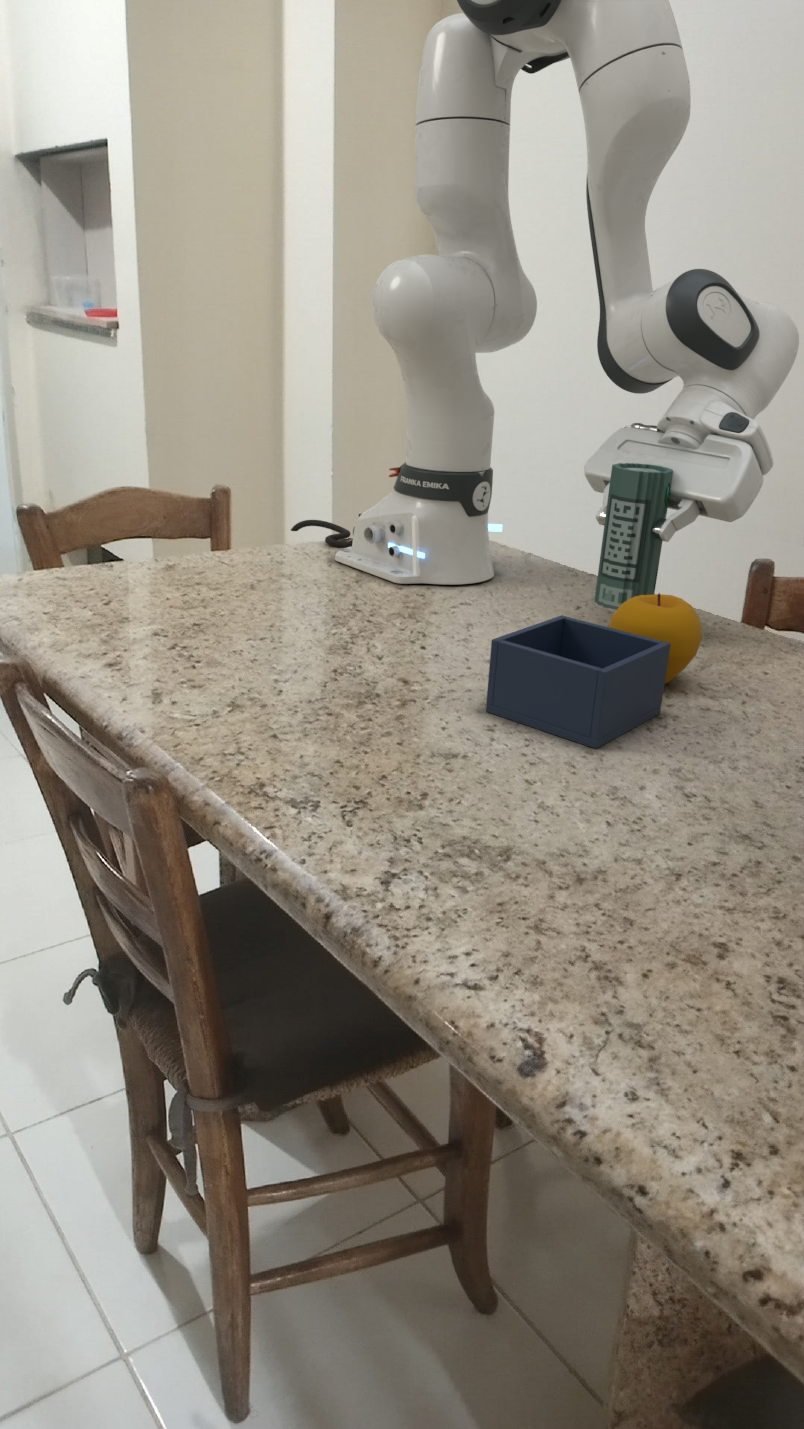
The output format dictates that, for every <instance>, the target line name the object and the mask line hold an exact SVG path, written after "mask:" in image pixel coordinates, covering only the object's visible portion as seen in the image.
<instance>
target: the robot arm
mask: <svg viewBox="0 0 804 1429" xmlns="http://www.w3.org/2000/svg"><path fill="white" fill-rule="evenodd" d="M456 1H457V4H458V6H459V8H460V9H461V12H460V13H454V14H451V15H448V16H445V17H443V19H441V20H439V21H438V22H436V23H435V24H434V25H433V26H432V27H431V28H430V30H429V32H428V34H427V35H426V38H425V41H424V45H423V51H422V56H421V61H420V68H419V73H418V74H419V75H418V83H417V93H416V105H415V131H414V132H415V134H414V136H415V137H414V138H415V140H414V141H415V142H414V150H415V151H414V198H415V201H416V205H417V207H418V209H419V211H420V212H421V213H422V215H423V216H424V218H425V220H427V223H428V224H429V226H430V228H431V231H432V235H433V239H434V241H435V245H436V250H437V254H431V253H424V254H418V255H414V256H409V257H405V258H402V259H399V260H395V261H393V262H392V263H390V264H388V265H387V266H386V267H385V268H384V270H383V271H381V273H380V275H379V277H378V278H377V280H376V283H375V285H374V288H373V293H372V302H371V307H372V308H371V310H372V315H373V320H374V324H375V326H376V328H377V330H378V332H379V333H380V335H381V336H382V337H383V339H384V340H385V341H386V342H387V343H388V344H389V346H390V347H391V350H392V351H393V353H394V355H395V357H396V361H397V363H398V366H399V370H400V373H401V377H402V382H403V386H404V391H405V400H406V444H405V446H406V447H405V448H406V449H405V462H404V463H402V464H401V465H400V466H397V467H392V468H391V467H390V468H388V471H394V472H392V473H389V474H388V475H387V476H388V478H396V477H397V478H396V479H395V483H394V485H393V490H392V491H391V492H390V493H388V494H387V495H386V496H384V497H383V498H382V499H380V500H379V501H378V502H376V503H375V504H373V505H372V506H371V507H369V508H368V509H367V510H365V511H364V512H362V513H358V518H357V519H356V522H355V525H354V527H353V529H352V539H350V540H349V541H341V540H346V539H348V538H349V537H351V531H350V530H349V529H347V528H345V527H343V526H340V525H338V524H336V523H332V522H329V521H325V520H321V519H305V520H301V521H299V522H297V523H296V524H294V525H293V526H292V527H291V529H290V531H291V532H298V531H299V530H301V529H303V528H306V527H318V528H319V527H320V528H325V529H328V530H332V531H334V532H337V533H333V534H329V535H327V536H325V539H324V541H325V543H326V544H327V545H329V546H332V547H334V548H342V549H339V550H337V551H336V553H335V555H334V561H336V562H338V563H341V564H343V565H345V566H349V567H352V568H354V569H357V570H360V571H362V572H365V573H368V574H370V575H373V576H376V577H379V578H381V579H384V580H386V581H389V582H391V583H395V584H403V585H408V584H409V585H412V584H415V585H416V584H429V585H448V586H449V585H450V586H451V585H468V584H469V585H470V584H476V583H477V584H478V583H481V582H486V581H488V580H491V579H492V578H493V577H494V576H495V572H494V567H493V561H492V556H491V547H490V534H489V532H496V533H497V532H501V533H502V532H503V524H500V523H499V524H498V523H489V510H490V507H491V506H490V505H491V502H492V501H491V500H492V495H493V484H494V483H493V481H494V469H493V468H492V467H491V462H492V451H493V450H492V448H493V436H494V423H495V407H494V404H493V401H492V399H491V398H490V397H489V395H488V394H487V393H486V392H485V390H484V388H483V386H482V383H481V379H480V376H479V370H478V364H477V358H476V357H477V356H476V354H487V353H489V354H490V353H495V352H498V351H501V350H503V349H506V348H508V347H511V346H513V345H516V344H517V343H519V342H520V341H522V340H523V339H525V337H526V336H527V335H528V334H529V332H530V331H531V329H532V328H533V325H534V322H535V320H536V316H537V310H538V301H537V295H536V291H535V288H534V286H533V284H532V282H531V280H530V279H529V278H528V276H527V274H526V272H525V271H524V269H523V266H522V263H521V260H520V257H519V253H518V248H517V244H516V240H515V234H514V230H513V224H512V218H511V210H510V200H509V196H510V194H509V183H510V182H509V178H510V175H509V173H510V165H509V164H510V140H511V112H512V111H511V110H512V106H511V104H512V95H513V94H512V92H513V87H514V83H515V80H516V78H517V75H518V74H519V72H520V71H521V70H522V71H523V72H525V73H527V74H530V75H531V74H536V73H538V72H540V71H542V70H544V69H546V68H548V67H549V66H552V65H553V64H556V63H560V62H563V61H566V60H568V59H570V61H571V66H572V69H573V72H574V77H575V82H576V87H577V91H578V94H579V95H578V96H579V100H580V105H581V111H582V116H583V123H584V130H585V140H586V154H587V159H586V160H587V162H586V163H587V165H586V170H587V171H586V186H585V196H586V197H585V198H586V209H587V219H588V227H589V234H590V243H591V250H592V256H593V263H594V271H595V279H596V287H597V293H598V294H597V295H598V303H599V319H598V320H599V322H598V330H597V338H596V339H597V340H596V342H597V343H596V345H597V347H596V348H597V349H596V350H597V356H598V360H599V363H600V365H601V367H602V370H603V371H604V373H605V375H606V376H607V377H608V378H609V380H610V381H611V382H612V383H613V384H614V385H616V386H617V387H618V388H620V389H621V390H623V391H625V392H629V393H632V394H638V395H640V394H641V395H642V394H648V393H651V392H653V391H656V390H657V389H659V388H660V387H662V386H664V385H666V384H667V383H669V382H671V381H672V380H674V379H675V378H677V377H678V378H680V379H681V380H682V384H683V386H682V389H681V390H680V392H679V393H678V394H677V396H676V397H675V398H674V400H673V402H672V403H670V405H669V407H668V408H667V410H666V411H665V412H664V413H663V415H662V416H661V417H660V419H659V420H658V422H657V425H652V424H651V425H650V424H644V423H641V422H632V423H631V424H630V425H626V426H624V427H620V428H619V429H617V430H616V431H615V432H613V433H612V434H611V435H610V436H609V437H607V439H606V440H605V441H604V442H603V443H602V444H601V445H600V446H599V447H597V449H596V450H595V452H593V454H592V455H591V456H590V457H589V458H588V460H587V461H586V463H585V464H584V468H583V470H584V472H583V473H584V477H585V479H586V480H587V482H588V484H589V485H590V487H591V489H592V490H593V491H594V492H596V493H600V494H603V495H602V496H603V497H602V506H601V507H600V508H599V510H598V511H597V513H596V514H595V519H596V521H597V523H598V525H600V526H604V524H605V517H606V509H607V502H608V494H609V486H610V479H611V471H612V465H614V464H618V463H639V464H650V465H657V466H663V467H666V468H669V469H672V471H673V476H672V482H671V488H670V495H669V502H668V508H667V509H670V510H675V512H673V513H672V514H670V515H669V516H668V517H666V519H664V518H659V520H658V521H657V524H656V525H655V526H654V527H653V529H652V533H653V535H654V536H655V539H658V540H661V541H662V542H666V543H668V542H670V540H671V539H672V538H673V537H674V536H675V534H676V532H678V531H680V530H683V528H686V527H687V526H689V525H691V524H692V523H694V522H695V521H696V520H697V518H698V517H699V516H701V517H705V518H709V519H714V520H718V521H723V522H728V523H732V522H735V521H737V520H739V519H741V518H743V516H744V515H745V514H746V513H747V512H748V511H749V509H750V508H751V507H752V505H753V503H754V501H756V500H755V499H756V498H757V497H758V494H759V493H760V492H761V489H762V487H763V484H764V476H765V475H767V474H768V473H769V472H770V471H771V470H772V468H773V467H774V459H773V455H772V452H771V448H770V445H769V442H768V440H767V438H766V435H765V433H764V431H763V428H762V426H761V425H760V423H759V422H758V421H756V420H755V419H756V417H757V416H758V415H759V414H761V413H762V412H763V411H765V409H766V408H768V406H769V405H770V404H771V402H772V400H773V399H774V397H775V396H776V394H778V391H779V390H780V389H781V387H782V386H783V384H784V382H785V380H786V379H787V377H788V375H789V373H790V372H791V370H792V368H793V366H794V363H795V361H796V359H797V355H798V353H799V352H798V351H799V346H800V335H799V330H798V327H797V325H796V323H795V321H794V320H793V318H792V317H791V316H790V314H788V312H786V311H785V310H784V309H783V308H781V307H780V306H778V305H775V304H774V303H771V302H767V301H766V302H765V301H754V300H751V299H749V298H747V297H745V296H743V295H742V294H740V293H738V292H737V291H736V290H735V288H734V287H733V286H732V285H731V284H730V282H729V281H728V280H726V278H725V277H723V276H721V275H720V274H718V273H717V272H715V271H713V270H710V269H706V268H694V269H690V270H687V271H685V272H683V273H681V274H680V275H678V276H676V277H674V278H672V279H670V280H669V281H667V282H665V283H664V284H661V285H660V286H659V287H657V288H656V289H654V288H653V283H652V274H651V267H650V266H651V265H650V257H649V250H648V249H649V248H648V242H647V234H646V214H647V209H648V205H649V201H650V199H651V195H652V193H653V191H654V189H655V186H656V184H657V182H658V180H659V178H660V176H661V175H662V172H663V171H664V169H665V167H666V166H667V164H668V163H669V160H670V159H671V157H672V156H673V155H674V153H675V151H676V150H677V148H678V146H679V145H680V144H681V141H682V139H683V137H684V135H685V133H686V131H687V127H688V124H689V121H690V118H691V103H692V102H691V81H690V76H689V71H688V67H687V66H688V65H687V62H686V58H685V53H684V48H683V44H682V41H681V37H680V32H679V28H678V25H677V22H676V18H675V15H674V12H673V9H672V6H671V3H670V0H456Z"/></svg>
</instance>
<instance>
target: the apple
mask: <svg viewBox="0 0 804 1429" xmlns="http://www.w3.org/2000/svg"><path fill="white" fill-rule="evenodd" d="M608 627H609V628H613V629H617V630H621V631H625V632H628V633H632V634H636V635H640V636H644V637H648V638H652V639H655V640H659V641H663V642H667V643H671V645H670V652H669V658H668V665H667V671H666V678H665V684H667V683H669V682H671V681H673V680H674V679H675V678H676V676H678V675H679V674H680V673H682V671H683V670H685V669H686V668H687V666H688V665H689V664H690V663H691V662H692V660H693V659H694V658H695V657H696V655H697V653H698V651H699V648H700V645H701V643H702V639H703V629H702V624H701V619H700V617H699V616H698V614H697V612H696V610H695V609H694V606H693V605H692V604H690V603H688V602H687V601H686V600H684V599H683V598H681V597H678V596H674V595H673V594H672V595H670V594H661V593H660V592H658V594H654V595H639V596H635V597H633V598H631V599H629V600H627V601H626V602H624V603H623V604H622V605H621V606H620V607H619V608H618V609H617V610H615V611H614V612H613V614H612V616H611V617H610V621H609V626H608Z"/></svg>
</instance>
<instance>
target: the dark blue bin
mask: <svg viewBox="0 0 804 1429" xmlns="http://www.w3.org/2000/svg"><path fill="white" fill-rule="evenodd" d="M670 645H671V643H667V642H663V641H659V640H655V639H652V638H648V637H644V636H640V635H636V634H632V633H628V632H625V631H621V630H617V629H613V628H609V626H605V625H601V624H598V623H595V622H589V621H585V620H581V619H578V618H573V617H570V616H567V615H562V614H561V615H558V616H556V617H552V618H550V619H547V620H543V621H541V622H538V623H535V624H533V625H529V626H527V627H523V628H520V629H518V630H515V631H511V632H509V633H506V634H503V635H501V636H498V637H495V638H492V639H491V645H490V657H489V669H488V678H487V679H488V681H487V692H486V704H485V712H486V713H490V714H492V715H495V716H499V717H502V718H504V719H507V720H510V721H513V722H516V723H519V724H522V725H525V726H528V727H530V728H534V729H536V730H539V731H542V732H546V733H548V734H550V735H554V736H557V737H559V738H563V739H566V740H569V741H571V742H575V743H577V744H580V745H583V746H587V747H589V748H592V749H595V750H597V749H598V748H601V747H602V746H604V745H607V743H609V742H611V741H613V740H615V739H617V738H619V737H620V736H622V735H624V734H626V733H628V732H629V731H632V730H633V729H635V728H636V727H639V726H641V725H642V724H644V723H646V722H648V721H650V720H652V719H653V718H655V717H657V716H659V715H660V714H661V710H662V704H663V696H664V691H665V684H666V683H665V678H666V671H667V665H668V658H669V652H670Z"/></svg>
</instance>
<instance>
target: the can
mask: <svg viewBox="0 0 804 1429" xmlns="http://www.w3.org/2000/svg"><path fill="white" fill-rule="evenodd" d="M672 476H673V471H672V469H669V468H666V467H663V466H657V465H650V464H639V463H618V464H614V465H612V471H611V479H610V486H609V494H608V502H607V509H606V517H605V524H604V525H603V532H602V533H603V534H602V539H601V540H602V541H601V548H600V555H599V563H598V570H597V579H596V585H595V586H596V587H595V595H594V603H596V604H597V605H598V606H601V607H603V608H605V609H610V610H615V611H616V610H617V609H618V608H619V607H620V606H621V605H622V604H623V603H624V602H626V601H627V600H629V599H631V598H633V597H635V596H639V595H655V594H656V593H655V592H656V587H657V586H656V585H657V578H658V572H659V567H660V559H661V554H662V547H663V541H661V540H658V539H655V536H654V535H653V533H652V529H653V527H654V526H655V525H656V524H657V521H658V520H659V518H664V519H667V515H668V509H669V508H668V502H669V495H670V488H671V482H672Z"/></svg>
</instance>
